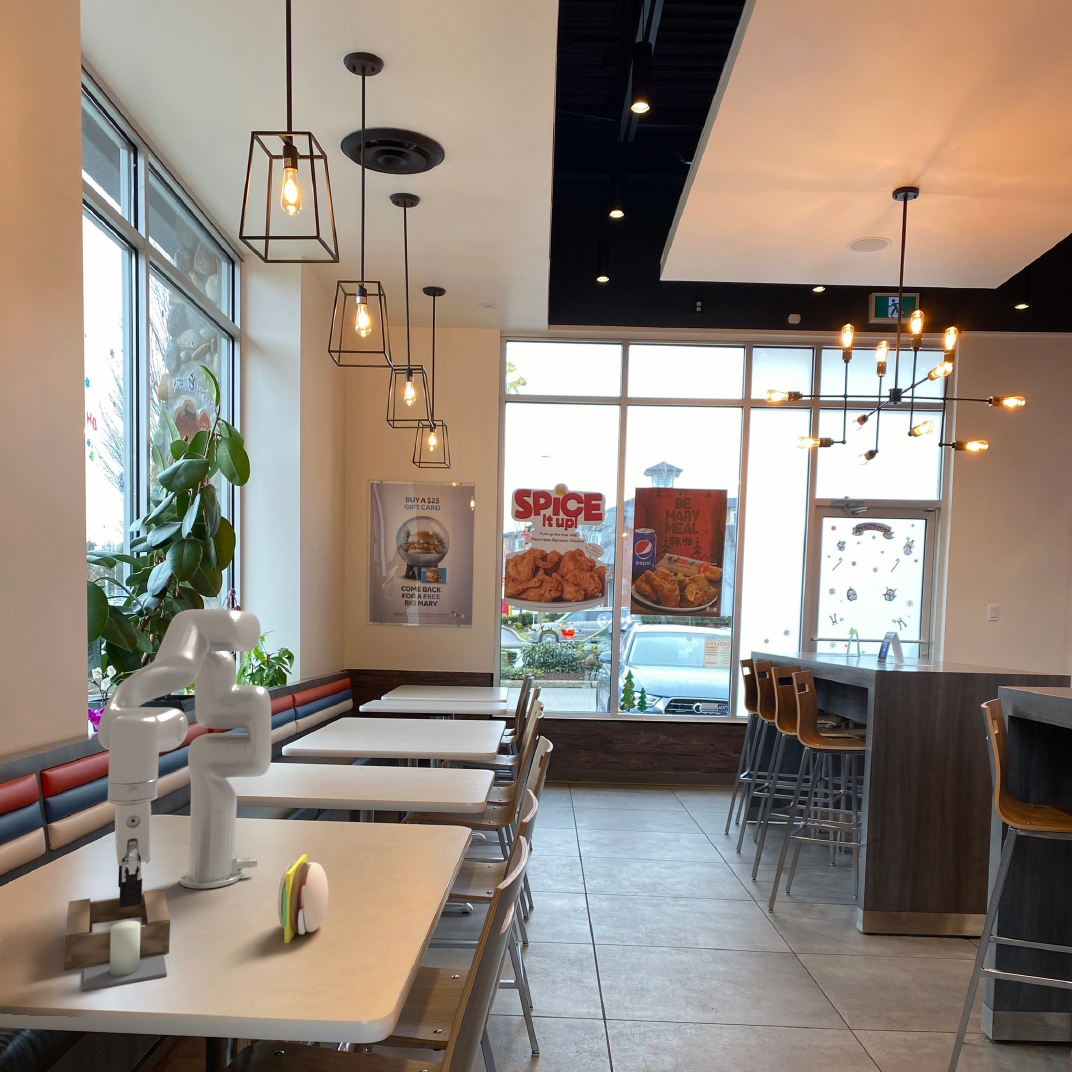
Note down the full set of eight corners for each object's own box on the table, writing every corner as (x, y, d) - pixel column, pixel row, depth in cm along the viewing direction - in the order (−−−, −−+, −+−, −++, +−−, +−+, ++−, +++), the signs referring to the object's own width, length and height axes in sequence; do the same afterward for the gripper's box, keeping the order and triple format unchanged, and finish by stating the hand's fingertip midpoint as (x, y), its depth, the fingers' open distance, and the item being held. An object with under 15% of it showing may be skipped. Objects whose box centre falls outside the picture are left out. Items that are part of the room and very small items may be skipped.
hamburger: (318, 942, 151) (319, 873, 152) (271, 943, 151) (273, 874, 152) (332, 918, 163) (334, 854, 164) (289, 918, 163) (291, 854, 164)
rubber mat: (163, 958, 144) (163, 954, 144) (166, 976, 137) (166, 973, 137) (83, 971, 139) (84, 968, 139) (82, 991, 132) (83, 988, 132)
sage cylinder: (140, 962, 141) (141, 919, 142) (138, 972, 137) (139, 928, 138) (110, 967, 139) (111, 923, 140) (108, 977, 135) (109, 932, 136)
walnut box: (162, 918, 162) (163, 888, 163) (169, 952, 146) (170, 919, 147) (67, 932, 155) (69, 901, 156) (63, 970, 139) (65, 935, 140)
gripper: (160, 799, 135) (157, 909, 134) (154, 777, 150) (151, 876, 149) (108, 804, 131) (104, 917, 130) (107, 781, 147) (103, 882, 145)
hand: (129, 895), depth 139 cm, fingers open, 9 cm apart
